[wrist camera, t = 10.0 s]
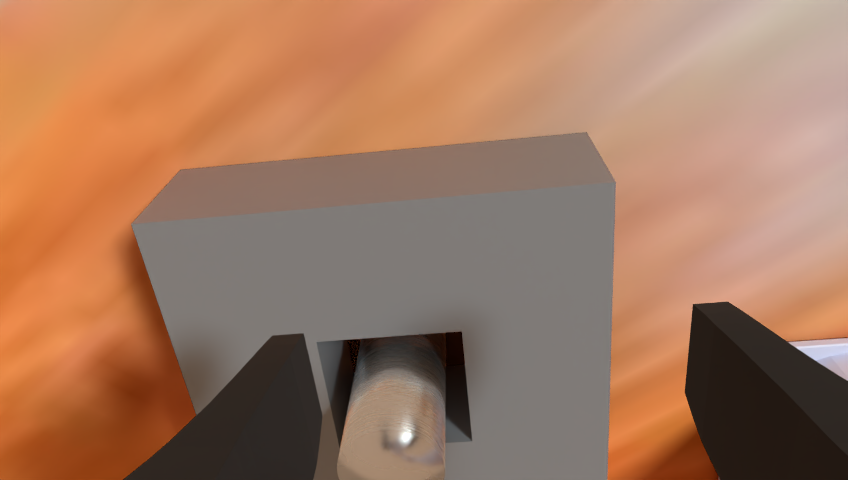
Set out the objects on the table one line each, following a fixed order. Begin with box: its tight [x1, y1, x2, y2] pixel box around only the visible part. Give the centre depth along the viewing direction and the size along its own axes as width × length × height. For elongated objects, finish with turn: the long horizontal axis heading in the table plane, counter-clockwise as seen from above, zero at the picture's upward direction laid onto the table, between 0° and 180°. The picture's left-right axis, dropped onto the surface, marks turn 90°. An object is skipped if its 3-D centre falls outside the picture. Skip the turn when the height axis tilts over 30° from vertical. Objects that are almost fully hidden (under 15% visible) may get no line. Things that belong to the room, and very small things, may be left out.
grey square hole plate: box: [131, 132, 616, 480], centre depth 23 cm, size 13×13×4 cm
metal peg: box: [337, 333, 446, 480], centre depth 22 cm, size 3×3×7 cm
